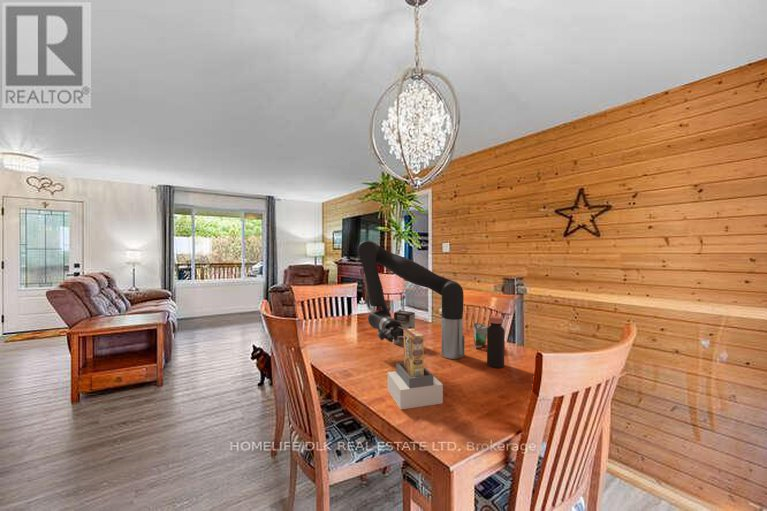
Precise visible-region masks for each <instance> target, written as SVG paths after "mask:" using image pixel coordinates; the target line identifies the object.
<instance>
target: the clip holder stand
mask: <svg viewBox="0 0 767 511" xmlns="http://www.w3.org/2000/svg"><path fill="white" fill-rule="evenodd" d="M443 389H444V384H443V383H442V382H441V381H440V380H439V379H438V378H437V377H436V376H435V375H433V374H432V372H430V371H429V370H428V369H427V367H425V366H424V376H417V377H410V376H409V375H408V373H407V372H406V371H405V370H404V361H403V362H397V363H395V370H394V371H388V372H387V391H388V392H389V394H390V395H391V397H392V399H393V401H395V403H396V404H397V406H398V408H399V410H400V411H401V410H406V409H414V408H415V409H416V408H420V407H427V406H435V405H440V404H443V403H444V398H443V397H444V396H443V395H444V390H443Z"/></svg>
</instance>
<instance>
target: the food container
mask: <svg viewBox="0 0 767 511" xmlns="http://www.w3.org/2000/svg"><path fill="white" fill-rule="evenodd" d="M487 328H488V326H487V325H486V324H483V323H478V322H474V323H473V343H474V344H475V345H474V349H475V348H476V349H475V350H483V349H485V348H486V347H487ZM482 348H483V349H482Z"/></svg>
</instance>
